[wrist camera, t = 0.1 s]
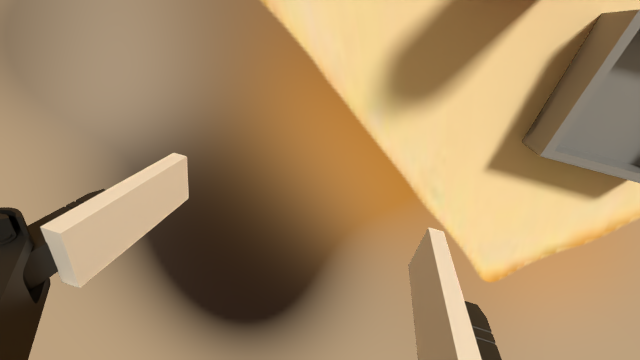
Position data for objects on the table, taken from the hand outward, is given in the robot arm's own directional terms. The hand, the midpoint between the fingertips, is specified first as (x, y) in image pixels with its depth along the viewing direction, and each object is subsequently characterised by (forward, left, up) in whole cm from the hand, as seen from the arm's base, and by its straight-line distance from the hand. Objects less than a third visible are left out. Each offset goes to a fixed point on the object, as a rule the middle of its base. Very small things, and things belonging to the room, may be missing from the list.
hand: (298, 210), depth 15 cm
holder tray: (-8, +31, -28) cm, 42 cm away
